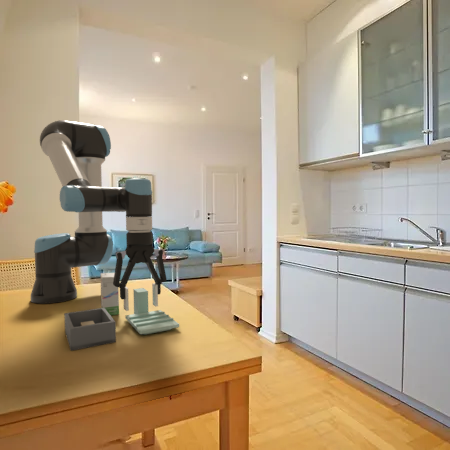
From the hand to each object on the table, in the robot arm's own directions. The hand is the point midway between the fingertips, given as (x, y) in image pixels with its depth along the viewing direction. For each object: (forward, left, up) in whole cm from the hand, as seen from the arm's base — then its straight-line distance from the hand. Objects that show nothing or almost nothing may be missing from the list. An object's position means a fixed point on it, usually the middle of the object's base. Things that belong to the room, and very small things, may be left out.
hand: (141, 307), depth 104 cm
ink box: (-10, -7, -3) cm, 13 cm away
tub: (+10, -16, -3) cm, 19 cm away
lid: (+7, 0, -3) cm, 8 cm away
